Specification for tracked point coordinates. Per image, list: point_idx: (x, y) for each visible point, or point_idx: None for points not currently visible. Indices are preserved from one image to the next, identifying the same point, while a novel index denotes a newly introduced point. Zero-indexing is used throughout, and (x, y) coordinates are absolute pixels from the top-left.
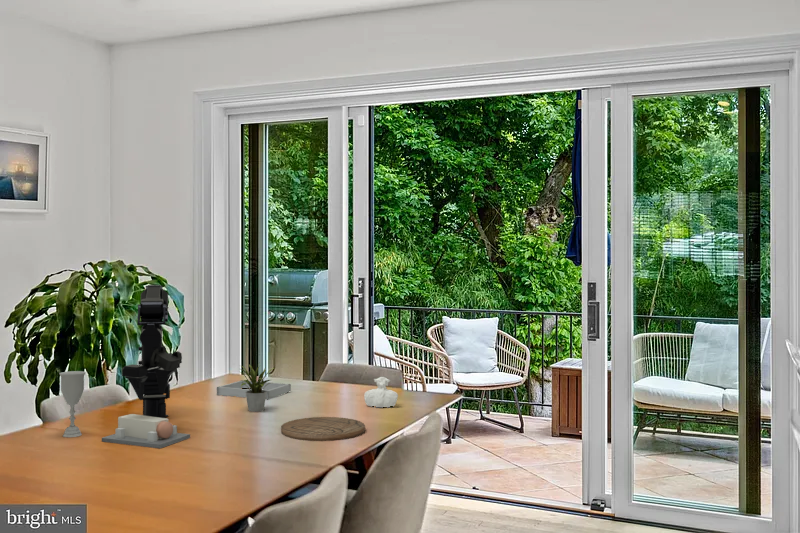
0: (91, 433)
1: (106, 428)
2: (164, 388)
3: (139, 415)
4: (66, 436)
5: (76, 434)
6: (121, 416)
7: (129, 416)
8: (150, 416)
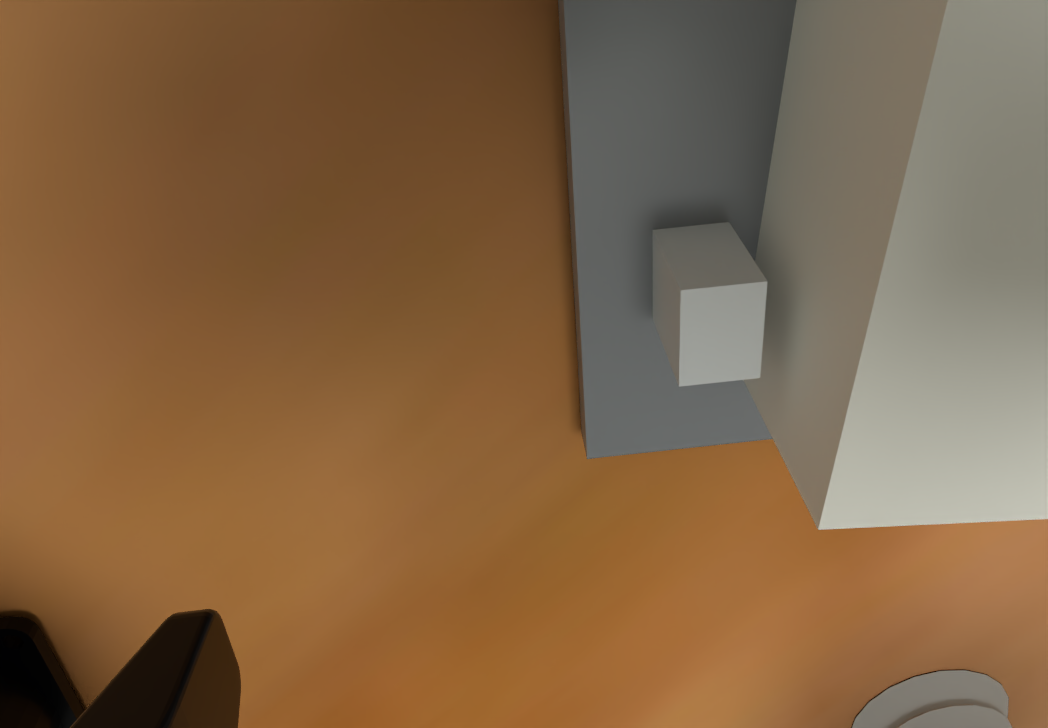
0: (815, 667)
1: (592, 705)
2: (140, 726)
3: (900, 344)
4: (1007, 715)
5: (967, 692)
6: (1043, 513)
7: (1018, 421)
8: (933, 90)
